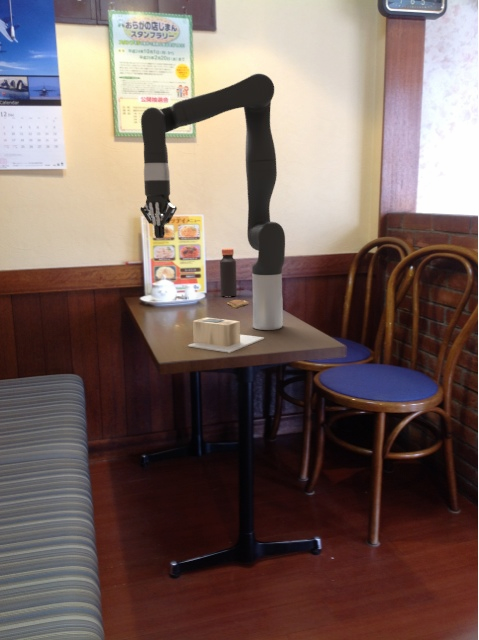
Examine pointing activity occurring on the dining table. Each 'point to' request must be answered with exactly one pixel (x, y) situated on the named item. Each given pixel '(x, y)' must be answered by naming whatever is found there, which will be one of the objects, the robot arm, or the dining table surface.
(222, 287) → the bottle
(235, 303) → the shard
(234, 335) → the wooden block
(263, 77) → the robot arm
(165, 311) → the dining table surface
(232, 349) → the mat
